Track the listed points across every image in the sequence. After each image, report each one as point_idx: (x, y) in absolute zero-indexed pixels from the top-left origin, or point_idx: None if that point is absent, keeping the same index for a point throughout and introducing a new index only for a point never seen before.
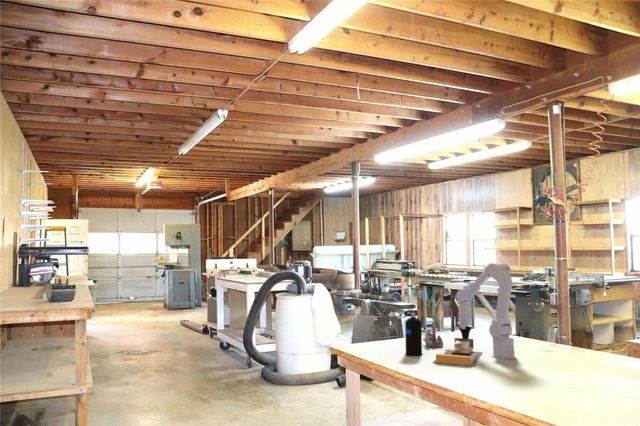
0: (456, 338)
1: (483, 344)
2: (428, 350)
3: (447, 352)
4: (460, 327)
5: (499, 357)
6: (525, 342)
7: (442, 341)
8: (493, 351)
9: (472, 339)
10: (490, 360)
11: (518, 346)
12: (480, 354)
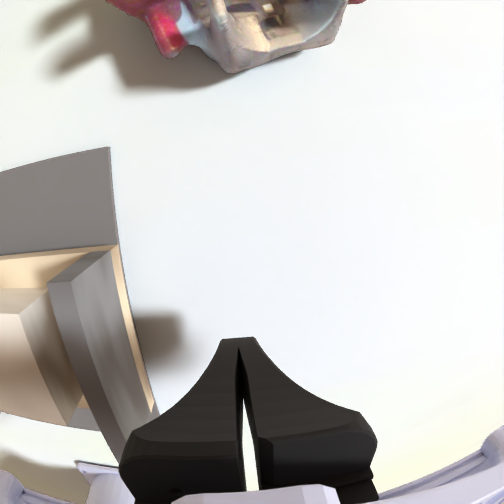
0: (55, 309)
1: (459, 360)
2: (46, 32)
3: (4, 209)
4: (144, 476)
5: (90, 483)
6: None
7: (229, 54)
8: (101, 488)
9: (116, 459)
10: (26, 447)
11: (416, 476)
12: (88, 425)
